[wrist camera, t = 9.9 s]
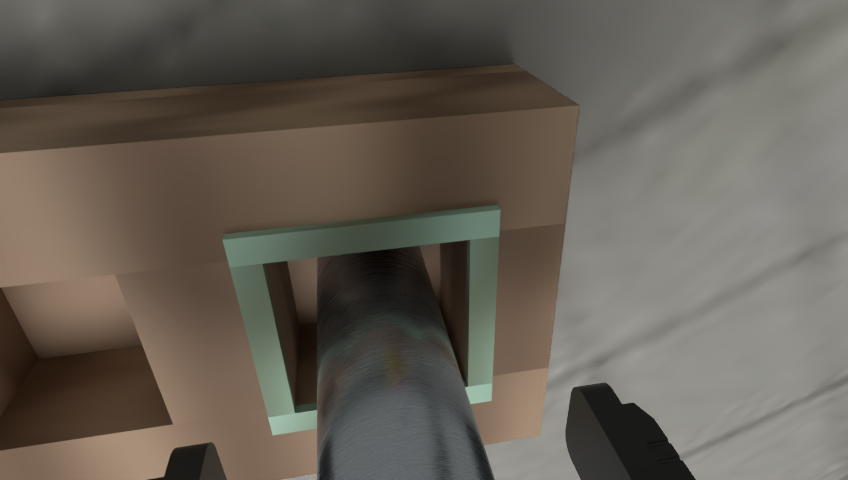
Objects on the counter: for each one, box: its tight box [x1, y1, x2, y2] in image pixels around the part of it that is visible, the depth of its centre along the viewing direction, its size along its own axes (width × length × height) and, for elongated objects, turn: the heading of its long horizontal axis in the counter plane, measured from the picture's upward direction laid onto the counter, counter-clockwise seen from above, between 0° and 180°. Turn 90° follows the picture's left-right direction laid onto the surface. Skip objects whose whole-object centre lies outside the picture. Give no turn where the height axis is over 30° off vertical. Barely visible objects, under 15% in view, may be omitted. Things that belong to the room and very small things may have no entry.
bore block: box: [0, 64, 579, 480], centre depth 17 cm, size 20×12×5 cm, turn 92°
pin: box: [317, 246, 495, 480], centre depth 14 cm, size 4×4×12 cm
